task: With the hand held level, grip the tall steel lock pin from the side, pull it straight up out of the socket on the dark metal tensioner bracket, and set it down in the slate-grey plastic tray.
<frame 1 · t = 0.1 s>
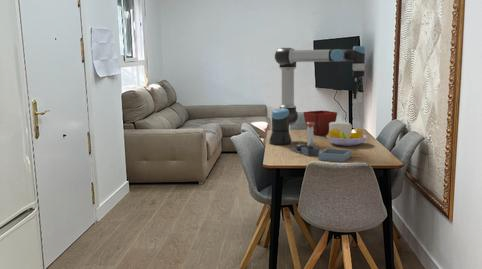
hand: (357, 103, 313), 28 cm above the table, tool pointing down, fingers open, 13 cm apart
plant pot: (319, 134, 367), on the table
lock pin: (310, 138, 287), in the tensioner bracket
tray: (335, 158, 275), on the table
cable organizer: (340, 138, 344), on the table
tensioner bracket: (310, 154, 288), on the table
fruit bowl: (345, 144, 319), on the table
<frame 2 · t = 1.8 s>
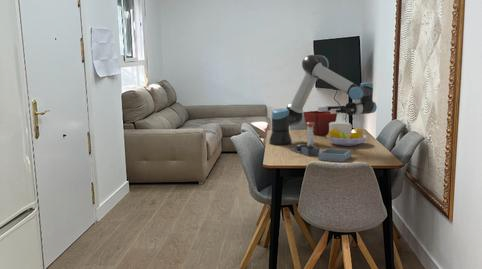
hand: (324, 110, 288), 26 cm above the table, tool horizontal, fingers open, 13 cm apart
nothing on the table moved.
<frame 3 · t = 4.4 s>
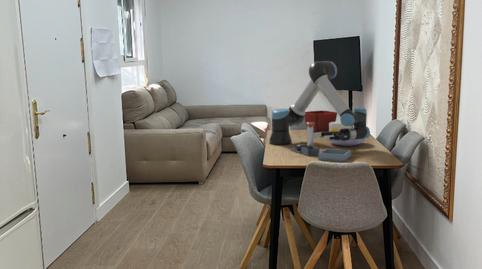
hand: (318, 136, 288), 10 cm above the table, tool horizontal, fingers open, 13 cm apart
nothing on the table moved.
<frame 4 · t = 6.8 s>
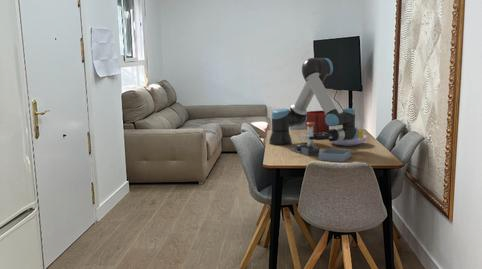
hand: (302, 137, 284), 10 cm above the table, tool horizontal, fingers closed on lock pin, 3 cm apart
lock pin: (310, 138, 287), in the tensioner bracket, touching gripper
everything else where it was.
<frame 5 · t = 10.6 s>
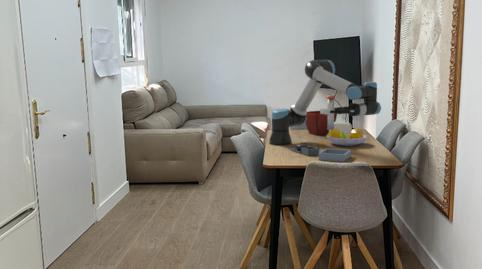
hand: (322, 111, 271), 27 cm above the table, tool horizontal, fingers closed on lock pin, 3 cm apart
lock pin: (330, 112, 274), point 26 cm above the table, touching gripper
everything else where it was.
when the fingers open (13 cm above the table, at t = 14.3 s): lock pin drops 1 cm, resting on tray.
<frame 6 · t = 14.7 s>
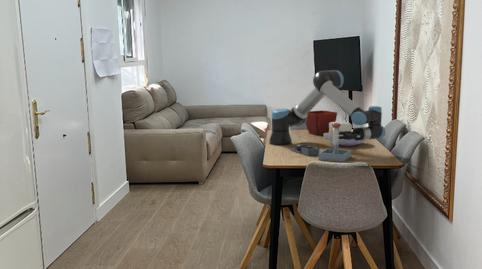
hand: (328, 136, 271), 13 cm above the table, tool horizontal, fingers open, 9 cm apart
lock pin: (335, 140, 274), in the tray, point 11 cm above the table
everything else where it was.
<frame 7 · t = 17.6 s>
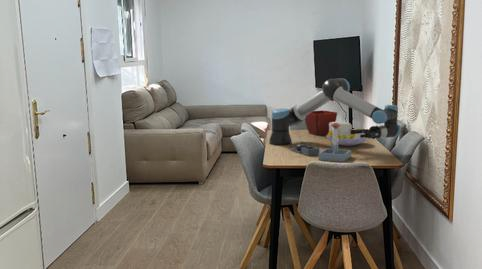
hand: (347, 134, 276), 13 cm above the table, tool horizontal, fingers open, 13 cm apart
nothing on the table moved.
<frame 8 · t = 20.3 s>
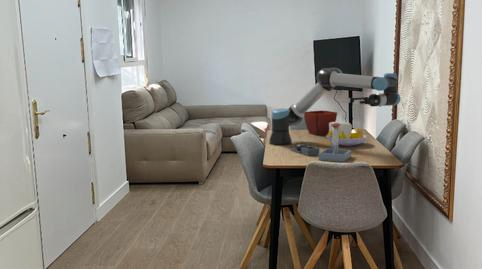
hand: (347, 101, 278), 32 cm above the table, tool horizontal, fingers open, 13 cm apart
nothing on the table moved.
at the end: lock pin inside the target area on the tray (0.0 cm from its centre), point 10.6 cm above the tray's base; the gripper is holding nothing; lock pin moved 18.0 cm from its start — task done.
